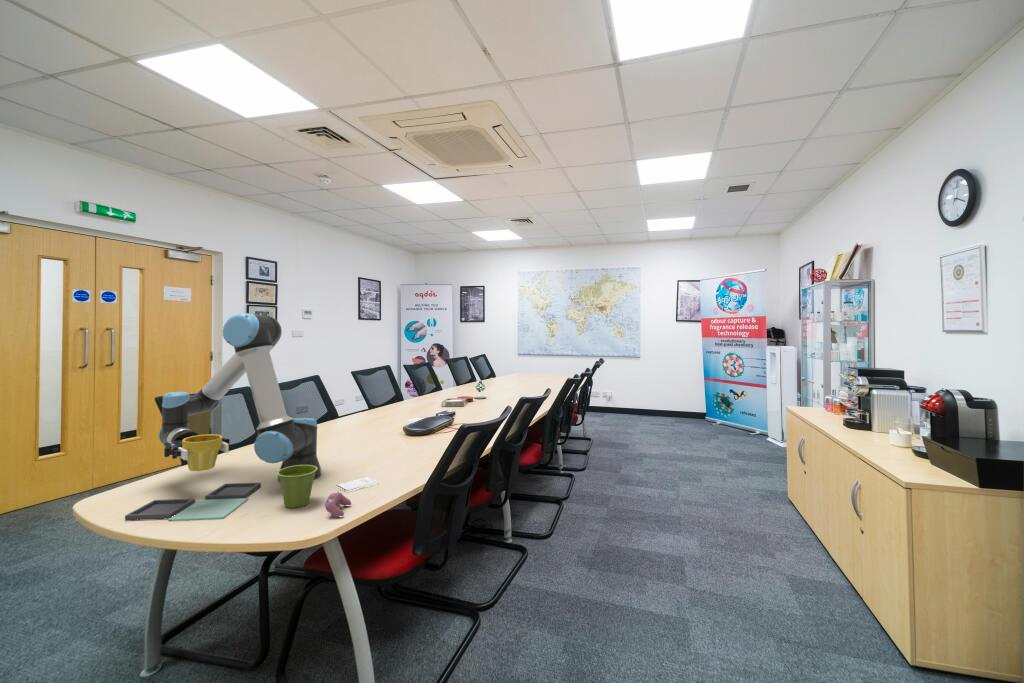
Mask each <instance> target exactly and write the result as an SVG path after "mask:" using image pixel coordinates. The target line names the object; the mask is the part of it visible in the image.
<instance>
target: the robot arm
mask: <svg viewBox="0 0 1024 683" xmlns="http://www.w3.org/2000/svg"><path fill="white" fill-rule="evenodd" d="M282 332H283V331H282V326H281V324H280V322H279V321H278V320H277V319H275V318H274V317H272V316H270V315H265V314H254V313H253V314H252V313H250V312H249V313H248V312H244V313H237V314H233V315H232V316H230V317H228V318H227V319H226V322H225V323H224V325H223V327H222V336H223V339H224V341H225V342H226V343H227V344H229V345H231V346H232V347H233V349H234V351H235V352H234V353H233V355H232V356H231V357H230V358H229V359H228V360H227V361H226V362H225V363H224V364H223V365H222V366H221V368H220V369H219V370H218V371H217V372H216V373H215V374H214V375H213V376H212V377H211V378H210V379H209V380H208V381H207V383H206V384H205V385H203V387H202V388H201V389H200V390H199V391H198V392H197V393H196V394H191V395H190V393H189V392H187V391H174V392H173V391H172V392H166V393H164V394H163V395H162V403H161V407H162V408H161V410H162V411H161V422H162V423H161V429H159V432H158V434H157V435H158V439H159V441H160V443H162V444H163V445H164V446H163V451H164V455H163V456H164V458H169V457H170V456H172V457H171V458H172V459H173V460H174V459H177V458H180V459H182V460H183V461H187V459H188V451H187V450H185V449H183V448H182V441H183V439H185V438H188V437H191V436H197V435H199V434H198V433H197V432H196V431H195V430H192V429H189V422H190V421H189V419H190V416H196V415H199V414H205V413H209V412H212V411H214V410H217V409H218V408H219V407H220V405H221V402H222V398H223V397H225V395H226V394H227V393H228V392H229V391H230V389H232V388H233V386H234V385H235V384H236V383H237V382H238V381H239V380H240V379H241V378H242V377H243V376H244V375H245V374H246V376H247V381H248V384H249V387H250V391H251V394H252V398H253V402H254V405H255V406H254V407H255V409H256V413H257V416H258V420H259V424H258V426H257V427H256V432H257V437H256V439H255V441H254V444H253V448H254V449H253V450H254V452H255V454H256V456H257V457H258V458H259V459H260V460H261V461H263V462H265V463H268V464H278V463H281V464H280V467H279V470H280V469H283V468H286V467H290V466H295V465H313V466H316V467H317V468H318V469H317V471H316V472H315V477H314V478H316V477H318V476H319V477H320V476H321V475H322V467H321V464H320V461H319V458H318V456H317V450H318V449H317V448H318V443H317V442H318V422H317V419H316V418H313V417H290V416H288V414H287V412H286V407H285V404H284V400H283V396H282V392H281V389H280V385H279V382H278V378H277V374H276V371H275V366H274V364H273V360H272V357H271V351H272V349H274V347H275V346H276V345H277V344H278V343H279V341H280V339H281V337H282V334H283V333H282ZM230 443H231V442H230V438H224V437H222V447H221V448H219V451H221V452H223V453H227V454H228V453H229V451H230V450H229V447H230ZM319 477H318V478H319ZM316 479H317V478H316ZM278 480H279V481H278ZM277 481H278V482H280V478H279V475H278V474H277Z"/></svg>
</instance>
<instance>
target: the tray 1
mask: <svg viewBox="0 0 1024 683" xmlns="http://www.w3.org/2000/svg"><path fill="white" fill-rule="evenodd" d="M195 502H196V498H178V499H177V498H175V499H174V498H172V499H170V498H169V499H153V500H151V501H150V502H148V503H146V504H144V505H143V506H140V507H139V508H137V509H135V510H133V511H131V512H129V513H127V514H125V515H124V521H125V520H131V521H141V520H140V519H157V520H165V519H164V518H171V517H172V516H174V515H176V514H178V513H179V512H181V511H182V510H184V509H186V508H187V507H189V506H190V505H192V504H194V503H195ZM137 519H138V520H137Z"/></svg>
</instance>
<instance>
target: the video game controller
mask: <svg viewBox="0 0 1024 683" xmlns="http://www.w3.org/2000/svg"><path fill="white" fill-rule="evenodd" d="M343 505H351V506H352V502H351V500H350V499H349V498H348V497H346V496H345V495H343V493H341V492H340V491H337V492H333V493H331V494H329V495H328V496H327V500H326V501H325V502H324V508H325V510H326V511H327V512H328V513H329V514H331V515H332V516H333V517H335V516H336V518H337V517H339V516H343V517H344V512H343V510H342V507H341V506H343ZM340 508H341V509H340Z"/></svg>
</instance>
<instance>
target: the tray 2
mask: <svg viewBox="0 0 1024 683" xmlns="http://www.w3.org/2000/svg"><path fill="white" fill-rule="evenodd" d="M260 486H262V483H261V482H237V483H233V482H232V483H224V484H222V485H221V486H219V487H217V488H216V489H214V490H213V491H211V492H210V493H208V494H207V495H205V497H204V498H205V499H204V500H210V499H239V498H248V497H249V496H251V493H252V494H253V493H254V492H256V491H257V490H259V489H260V488H261V487H260ZM259 487H260V488H259ZM255 490H256V491H255ZM247 496H248V497H247Z"/></svg>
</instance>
